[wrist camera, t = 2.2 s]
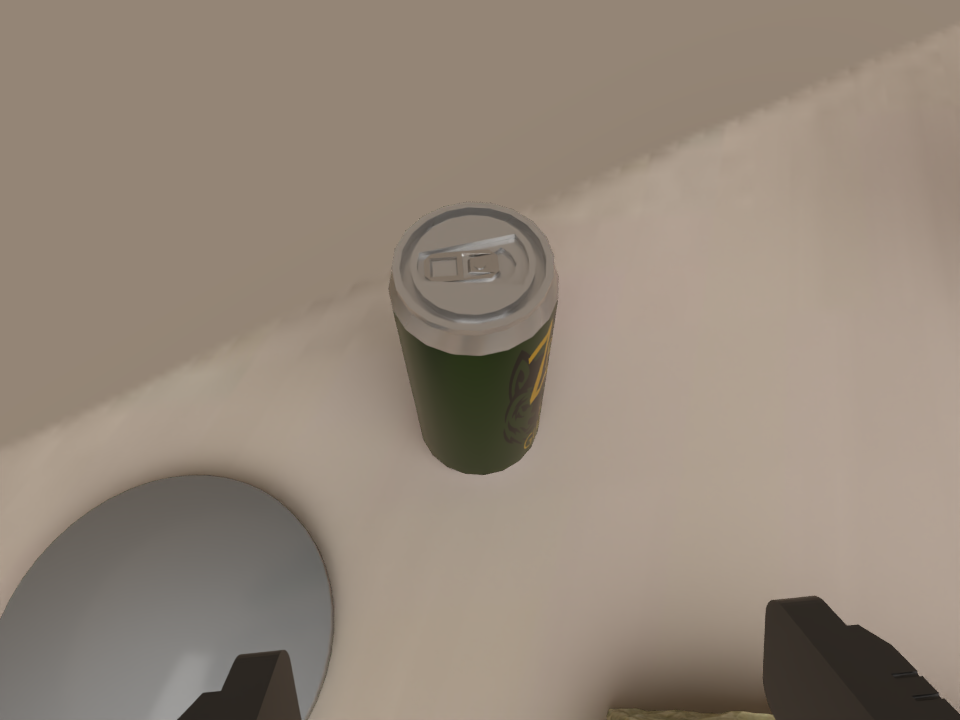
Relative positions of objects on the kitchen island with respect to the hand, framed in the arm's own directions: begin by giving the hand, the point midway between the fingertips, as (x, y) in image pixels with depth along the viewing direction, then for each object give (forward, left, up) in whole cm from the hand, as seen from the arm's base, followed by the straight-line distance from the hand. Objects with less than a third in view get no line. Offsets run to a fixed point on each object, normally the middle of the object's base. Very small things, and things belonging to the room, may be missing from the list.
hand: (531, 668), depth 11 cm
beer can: (-4, -11, -16) cm, 19 cm away
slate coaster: (+11, -8, -15) cm, 21 cm away
